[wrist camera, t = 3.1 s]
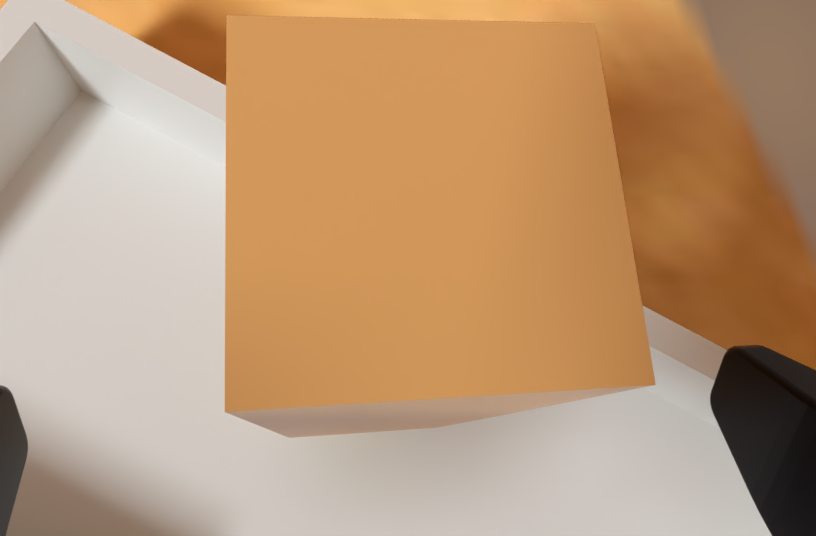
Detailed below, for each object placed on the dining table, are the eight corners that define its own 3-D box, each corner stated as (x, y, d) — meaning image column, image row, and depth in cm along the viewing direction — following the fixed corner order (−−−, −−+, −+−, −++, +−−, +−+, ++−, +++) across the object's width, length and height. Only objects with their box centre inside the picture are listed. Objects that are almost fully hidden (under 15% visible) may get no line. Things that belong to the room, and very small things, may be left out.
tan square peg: (421, 430, 16) (656, 385, 5) (293, 439, 16) (224, 410, 4) (413, 307, 17) (595, 23, 6) (290, 312, 17) (225, 15, 5)
